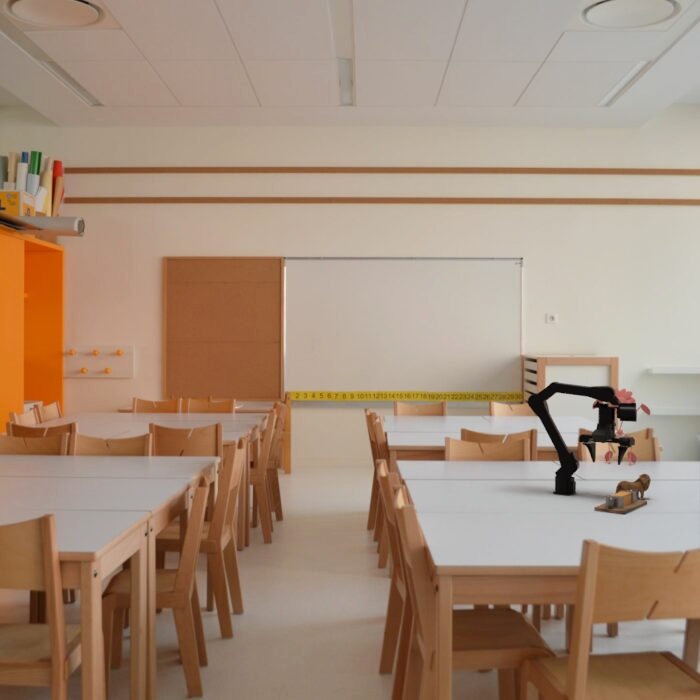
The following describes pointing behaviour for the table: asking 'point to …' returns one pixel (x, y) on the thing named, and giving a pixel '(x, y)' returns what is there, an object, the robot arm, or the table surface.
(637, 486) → the lion figurine
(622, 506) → the hammer
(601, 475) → the table surface
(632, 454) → the figurine
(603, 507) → the board
